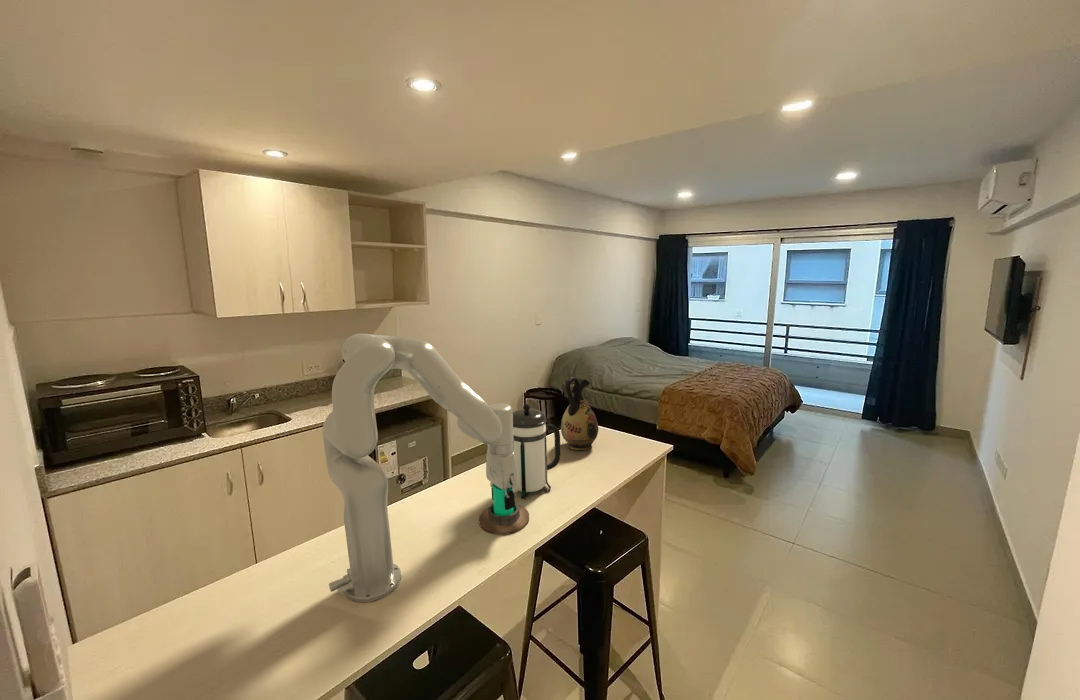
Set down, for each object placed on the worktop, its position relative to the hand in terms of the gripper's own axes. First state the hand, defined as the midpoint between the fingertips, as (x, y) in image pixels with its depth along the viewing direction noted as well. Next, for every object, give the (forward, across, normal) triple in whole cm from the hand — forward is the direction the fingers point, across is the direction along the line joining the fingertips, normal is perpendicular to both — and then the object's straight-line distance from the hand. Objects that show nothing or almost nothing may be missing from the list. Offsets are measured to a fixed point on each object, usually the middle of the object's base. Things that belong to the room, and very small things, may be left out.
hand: (503, 502), depth 129 cm
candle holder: (+6, 0, 0) cm, 6 cm away
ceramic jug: (+6, -24, +53) cm, 58 cm away
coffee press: (+6, -10, +18) cm, 21 cm away
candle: (+5, 0, 0) cm, 5 cm away
